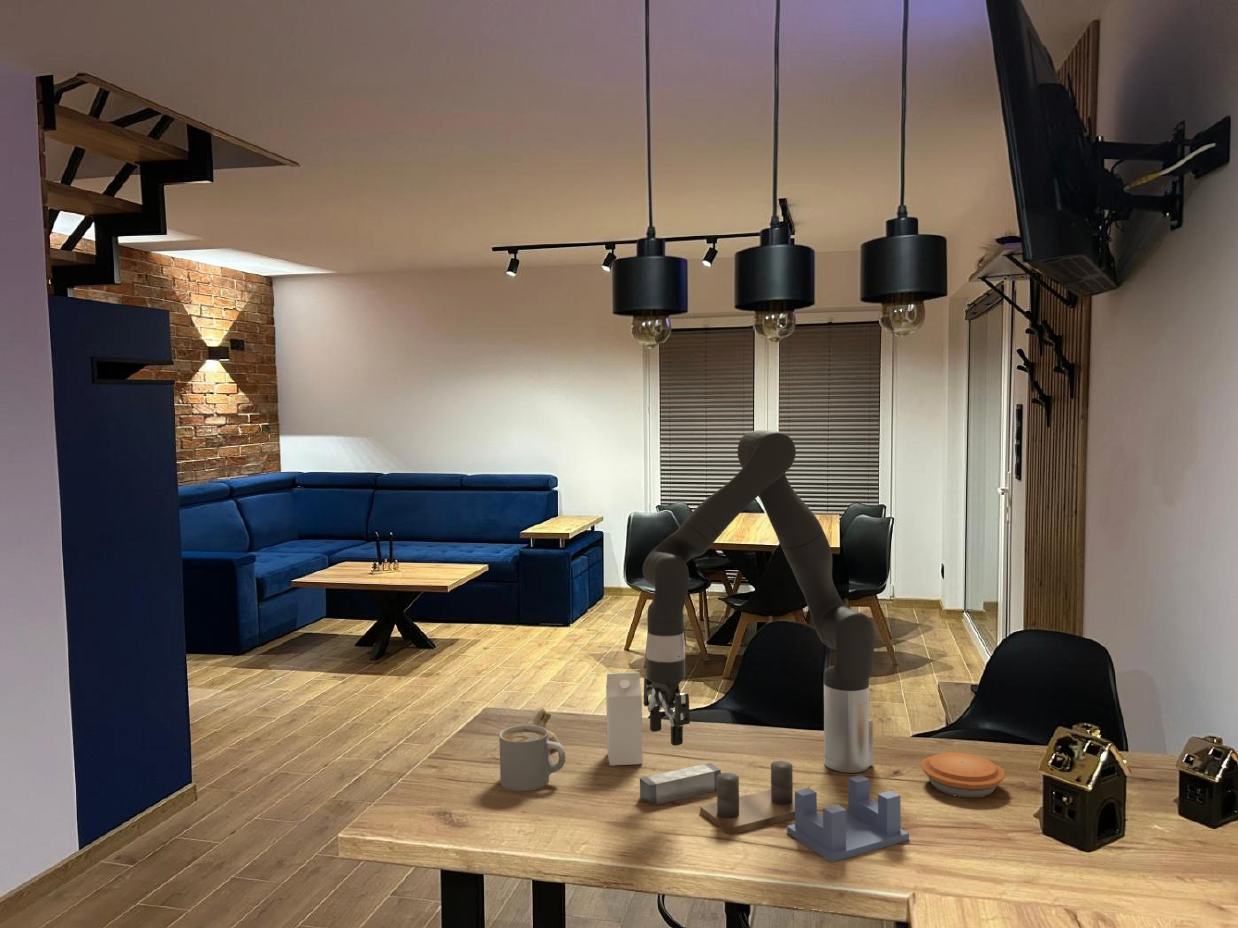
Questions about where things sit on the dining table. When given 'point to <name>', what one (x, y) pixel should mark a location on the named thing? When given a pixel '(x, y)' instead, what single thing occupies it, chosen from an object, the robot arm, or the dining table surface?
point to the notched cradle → (848, 822)
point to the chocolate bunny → (544, 725)
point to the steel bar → (679, 784)
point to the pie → (962, 774)
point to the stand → (752, 802)
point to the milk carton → (624, 718)
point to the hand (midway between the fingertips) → (665, 737)
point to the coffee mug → (527, 757)
